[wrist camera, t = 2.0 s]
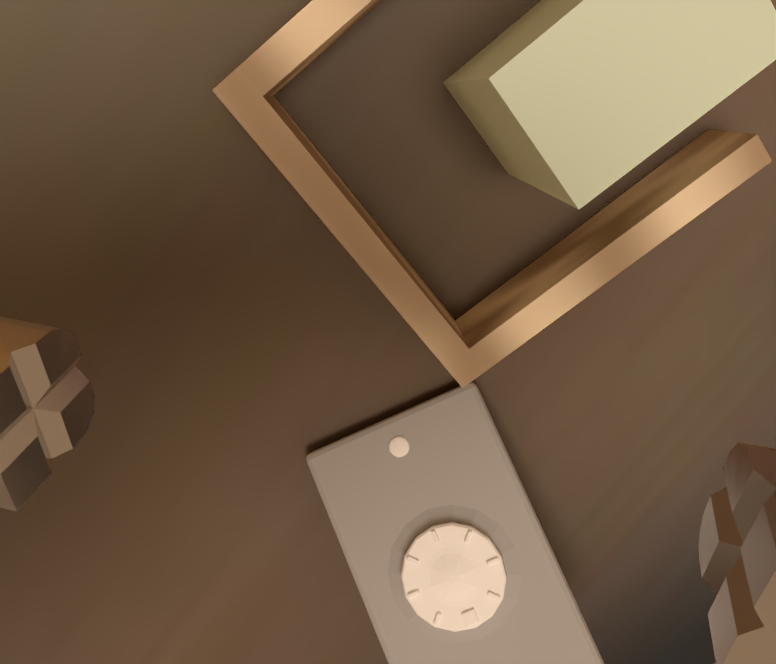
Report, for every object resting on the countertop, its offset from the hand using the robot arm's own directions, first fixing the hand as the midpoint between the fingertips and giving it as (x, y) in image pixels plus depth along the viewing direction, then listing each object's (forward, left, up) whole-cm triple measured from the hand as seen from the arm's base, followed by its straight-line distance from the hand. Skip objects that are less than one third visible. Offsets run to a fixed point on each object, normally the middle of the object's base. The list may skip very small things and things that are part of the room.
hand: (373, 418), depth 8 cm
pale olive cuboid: (+9, +1, -20) cm, 22 cm away
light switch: (-2, -16, -21) cm, 27 cm away
